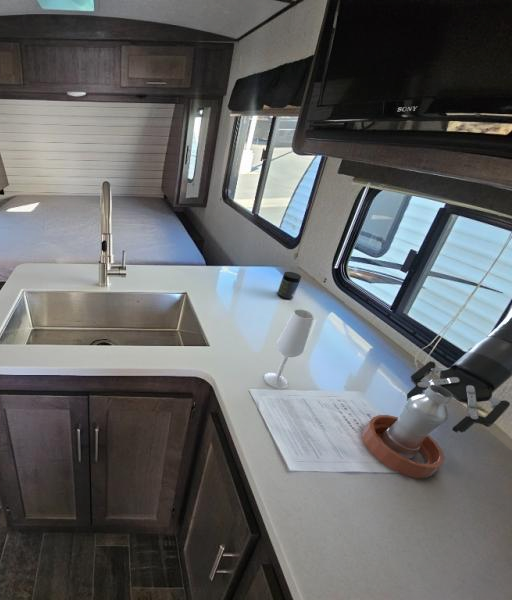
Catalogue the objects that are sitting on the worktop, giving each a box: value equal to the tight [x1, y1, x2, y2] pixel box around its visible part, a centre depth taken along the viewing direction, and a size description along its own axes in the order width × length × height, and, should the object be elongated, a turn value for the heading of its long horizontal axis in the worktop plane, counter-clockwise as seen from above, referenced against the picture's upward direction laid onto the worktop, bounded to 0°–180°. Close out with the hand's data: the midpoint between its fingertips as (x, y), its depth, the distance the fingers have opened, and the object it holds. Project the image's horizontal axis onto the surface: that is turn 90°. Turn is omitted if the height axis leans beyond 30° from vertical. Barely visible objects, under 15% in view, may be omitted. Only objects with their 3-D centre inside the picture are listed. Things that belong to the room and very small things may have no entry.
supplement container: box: [277, 271, 302, 300], centre depth 139 cm, size 7×7×10 cm
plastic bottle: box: [379, 385, 454, 460], centre depth 71 cm, size 6×7×20 cm
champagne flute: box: [263, 308, 315, 390], centre depth 90 cm, size 7×7×24 cm
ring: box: [361, 414, 445, 479], centre depth 75 cm, size 14×14×6 cm
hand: (430, 415), depth 71 cm, fingers open, 8 cm apart
